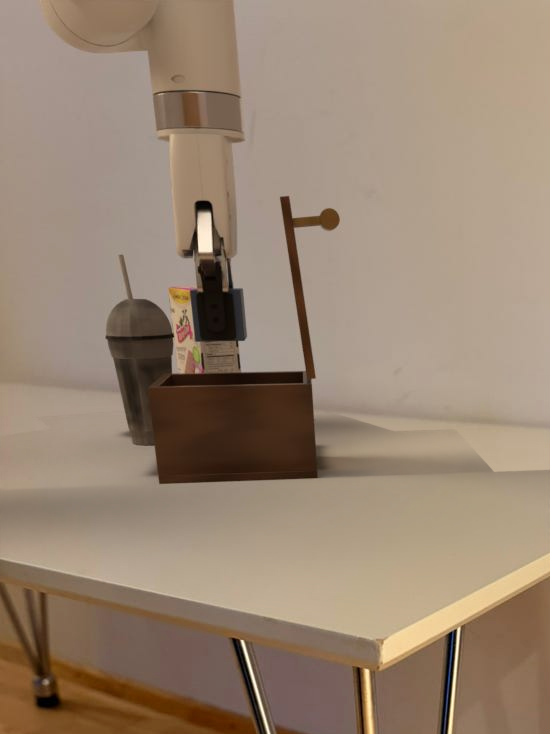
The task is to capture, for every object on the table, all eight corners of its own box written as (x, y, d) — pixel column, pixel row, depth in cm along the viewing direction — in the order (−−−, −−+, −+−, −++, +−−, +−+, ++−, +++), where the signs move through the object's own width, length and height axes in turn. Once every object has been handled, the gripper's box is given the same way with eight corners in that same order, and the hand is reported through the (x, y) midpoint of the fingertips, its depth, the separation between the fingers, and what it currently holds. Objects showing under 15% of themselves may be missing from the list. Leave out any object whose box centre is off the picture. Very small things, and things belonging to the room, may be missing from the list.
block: (195, 341, 91) (189, 290, 89) (199, 338, 95) (194, 288, 93) (244, 341, 92) (240, 289, 90) (247, 337, 96) (242, 288, 94)
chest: (159, 484, 91) (147, 387, 88) (173, 460, 102) (163, 373, 99) (317, 478, 94) (311, 383, 90) (315, 456, 104) (310, 370, 101)
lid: (279, 196, 85) (337, 191, 85) (282, 203, 95) (333, 198, 96) (307, 379, 90) (361, 373, 91) (306, 366, 101) (354, 361, 102)
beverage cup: (199, 439, 114) (179, 254, 106) (148, 449, 108) (123, 254, 101) (157, 434, 117) (135, 254, 110) (105, 443, 112) (79, 254, 104)
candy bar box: (181, 422, 126) (165, 286, 120) (219, 418, 128) (206, 285, 123) (208, 434, 117) (193, 288, 111) (248, 430, 120) (235, 287, 114)
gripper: (167, 132, 94) (189, 332, 100) (141, 107, 78) (169, 346, 85) (248, 133, 95) (264, 330, 102) (237, 109, 79) (257, 344, 86)
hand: (220, 335), depth 93 cm, fingers closed on block, 4 cm apart
